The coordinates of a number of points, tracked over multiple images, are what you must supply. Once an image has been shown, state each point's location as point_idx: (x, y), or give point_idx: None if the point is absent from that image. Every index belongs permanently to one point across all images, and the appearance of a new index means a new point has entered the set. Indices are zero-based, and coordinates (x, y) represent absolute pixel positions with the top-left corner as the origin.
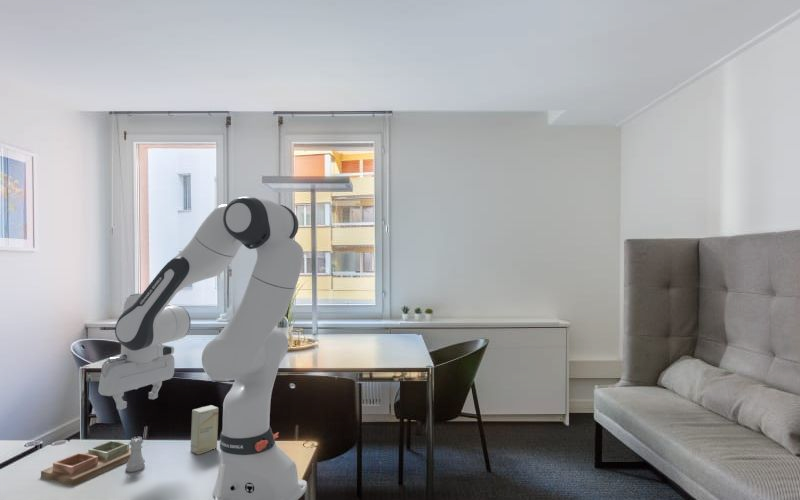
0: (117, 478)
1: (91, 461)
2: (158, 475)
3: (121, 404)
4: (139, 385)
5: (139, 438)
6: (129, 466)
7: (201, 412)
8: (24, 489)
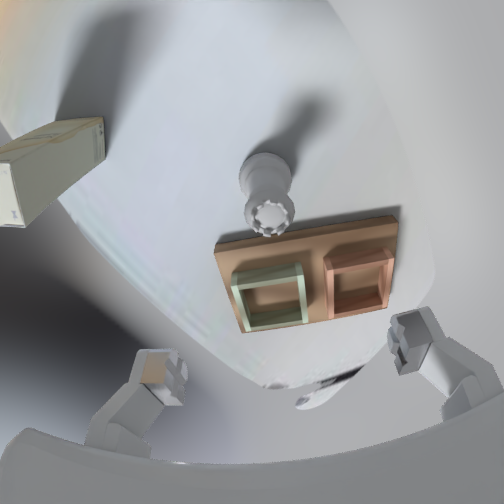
0: (326, 159)
1: (343, 263)
2: (251, 73)
3: (440, 331)
4: (350, 474)
5: (253, 222)
6: (289, 173)
7: (5, 162)
8: (423, 273)
